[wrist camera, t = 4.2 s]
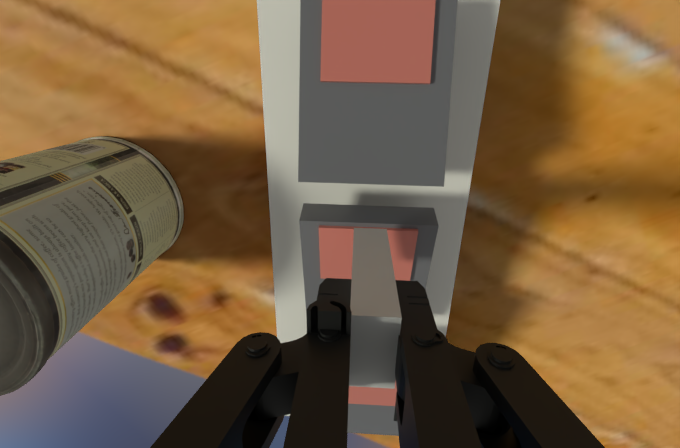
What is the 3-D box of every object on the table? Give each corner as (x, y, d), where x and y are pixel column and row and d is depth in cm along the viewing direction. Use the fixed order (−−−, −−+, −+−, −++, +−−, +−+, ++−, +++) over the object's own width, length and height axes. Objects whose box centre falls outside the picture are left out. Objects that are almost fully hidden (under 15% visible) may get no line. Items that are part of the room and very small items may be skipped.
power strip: (272, -108, 20) (237, -180, 15) (492, -108, 20) (546, -183, 14) (292, 368, 34) (278, 430, 28) (423, 376, 33) (437, 440, 28)
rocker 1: (305, 7, 18) (299, -11, 16) (448, 9, 18) (459, -9, 16) (303, 180, 19) (297, 182, 17) (436, 185, 19) (444, 186, 17)
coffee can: (112, 277, 31) (-65, 424, 18) (26, 171, 28) (-267, 258, 15) (211, 232, 29) (90, 361, 16) (130, 110, 26) (-106, 149, 13)
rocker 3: (306, 342, 23) (302, 368, 22) (416, 348, 23) (419, 374, 22) (312, 408, 28) (309, 433, 27) (401, 413, 28) (403, 438, 27)
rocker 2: (303, 203, 20) (298, 223, 18) (433, 207, 19) (439, 228, 18) (310, 307, 25) (306, 329, 23) (413, 312, 24) (416, 334, 23)
